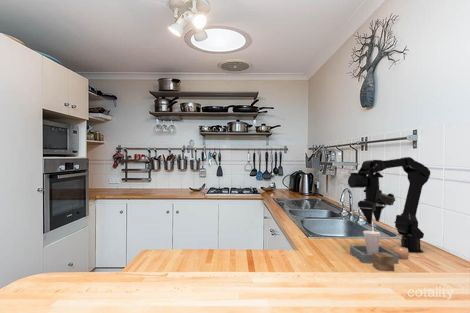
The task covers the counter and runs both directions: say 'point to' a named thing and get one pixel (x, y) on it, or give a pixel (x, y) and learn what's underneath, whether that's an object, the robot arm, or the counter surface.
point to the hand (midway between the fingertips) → (373, 222)
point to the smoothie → (372, 240)
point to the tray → (362, 255)
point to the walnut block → (383, 261)
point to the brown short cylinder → (401, 252)
